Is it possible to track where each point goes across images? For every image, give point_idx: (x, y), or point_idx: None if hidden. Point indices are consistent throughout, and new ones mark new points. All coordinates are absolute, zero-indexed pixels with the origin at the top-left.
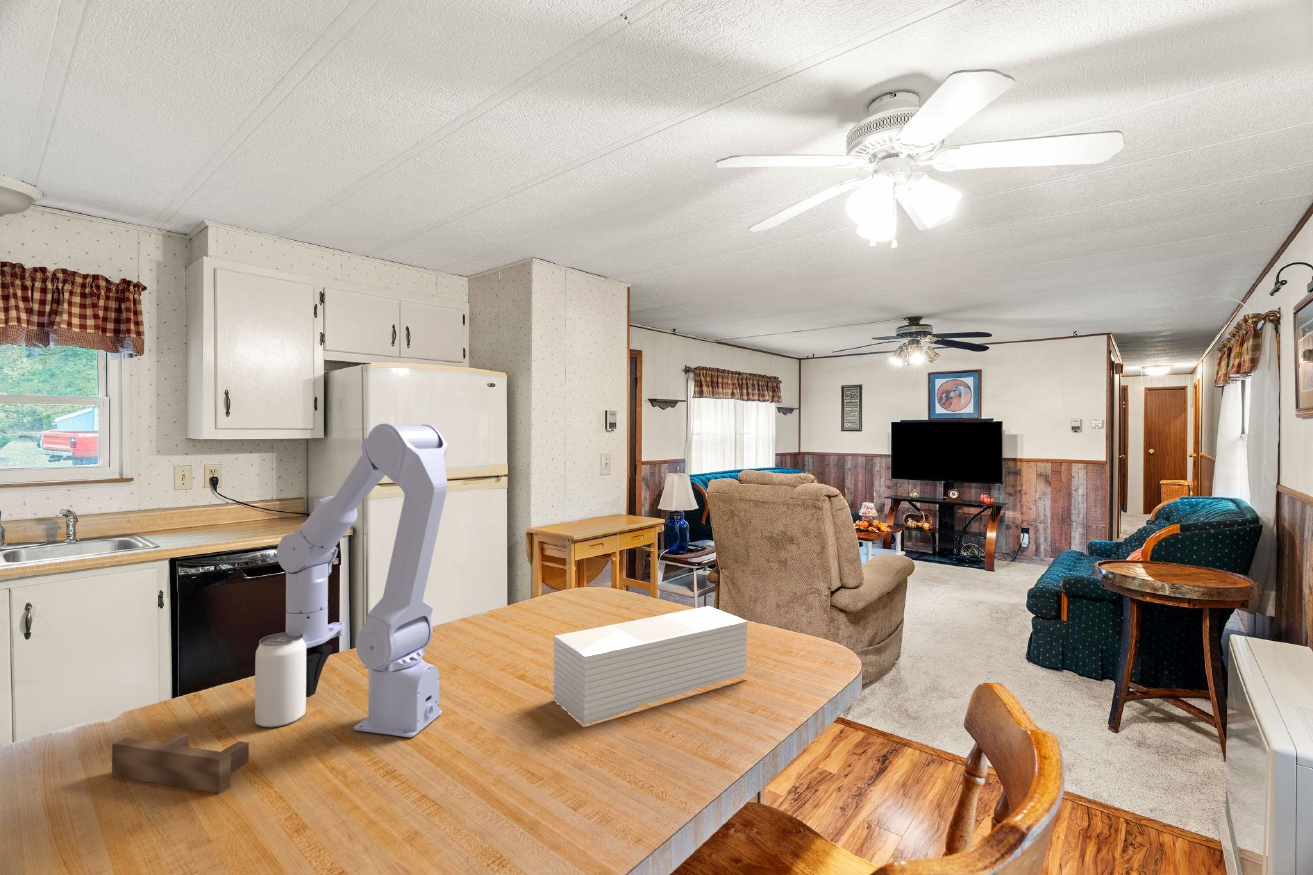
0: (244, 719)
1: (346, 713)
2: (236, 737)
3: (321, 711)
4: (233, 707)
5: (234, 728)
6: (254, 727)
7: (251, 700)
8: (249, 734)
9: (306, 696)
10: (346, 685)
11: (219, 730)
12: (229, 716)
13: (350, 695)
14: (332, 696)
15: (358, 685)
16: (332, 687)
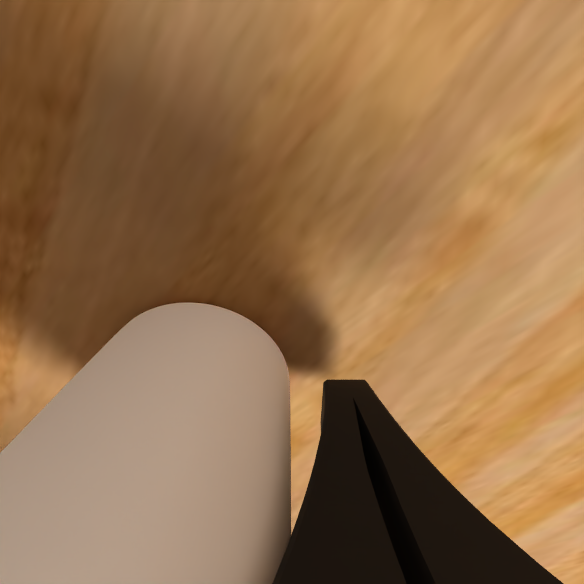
0: (135, 245)
1: (298, 506)
2: (23, 340)
3: (292, 448)
4: (211, 41)
5: (59, 274)
6: (108, 340)
7: (323, 73)
8: (64, 363)
9: (321, 418)
10: (523, 397)
11: (8, 225)
12: (121, 136)
13: (426, 454)
14: (414, 412)
15: (519, 432)
16: (505, 363)
